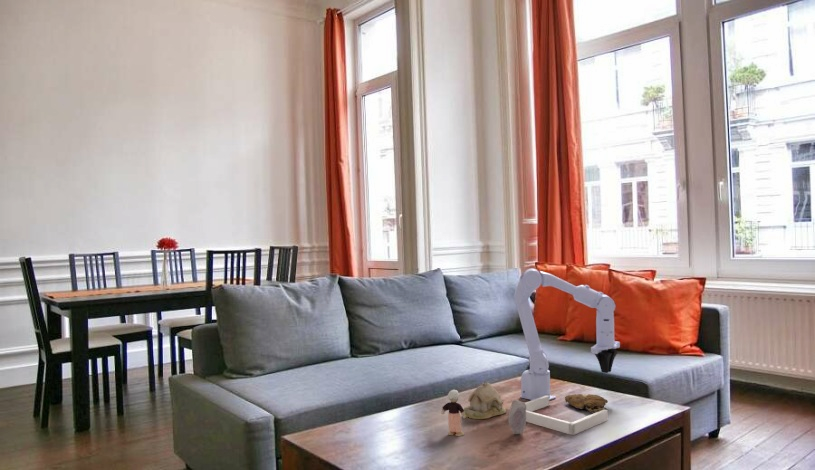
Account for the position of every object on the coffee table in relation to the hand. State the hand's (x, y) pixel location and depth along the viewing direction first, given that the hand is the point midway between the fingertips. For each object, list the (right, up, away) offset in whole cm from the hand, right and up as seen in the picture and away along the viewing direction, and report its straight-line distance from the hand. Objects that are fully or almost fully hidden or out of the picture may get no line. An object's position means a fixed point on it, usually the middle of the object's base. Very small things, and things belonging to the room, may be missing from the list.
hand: (606, 372), depth 200 cm
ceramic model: (-42, -11, -10) cm, 44 cm away
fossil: (-35, -11, -30) cm, 48 cm away
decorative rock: (-8, -10, -7) cm, 15 cm away
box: (-20, -10, -17) cm, 29 cm away
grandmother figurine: (-53, -12, -28) cm, 61 cm away
